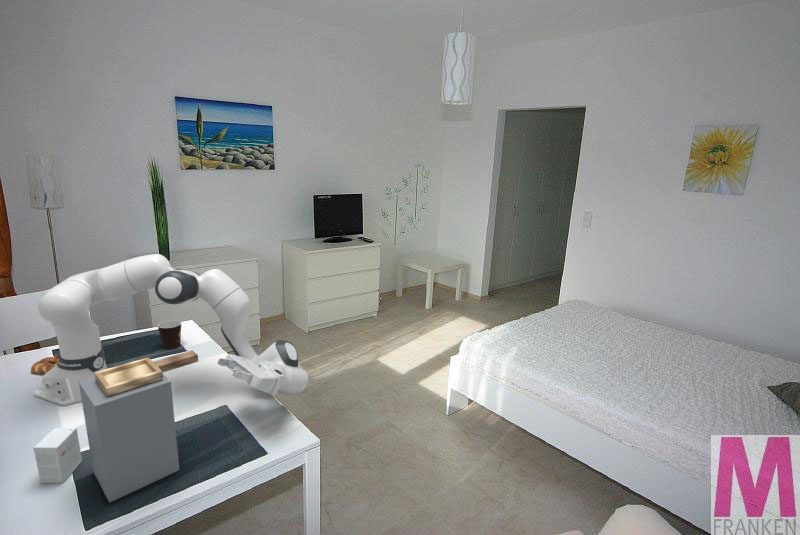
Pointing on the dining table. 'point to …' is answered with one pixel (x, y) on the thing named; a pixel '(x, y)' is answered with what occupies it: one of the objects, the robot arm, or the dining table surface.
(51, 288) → the robot arm
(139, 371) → the oak tray
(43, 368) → the pretzel
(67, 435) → the small box
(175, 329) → the coffee mug
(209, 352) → the dining table surface
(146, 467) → the tall grey pillar block
